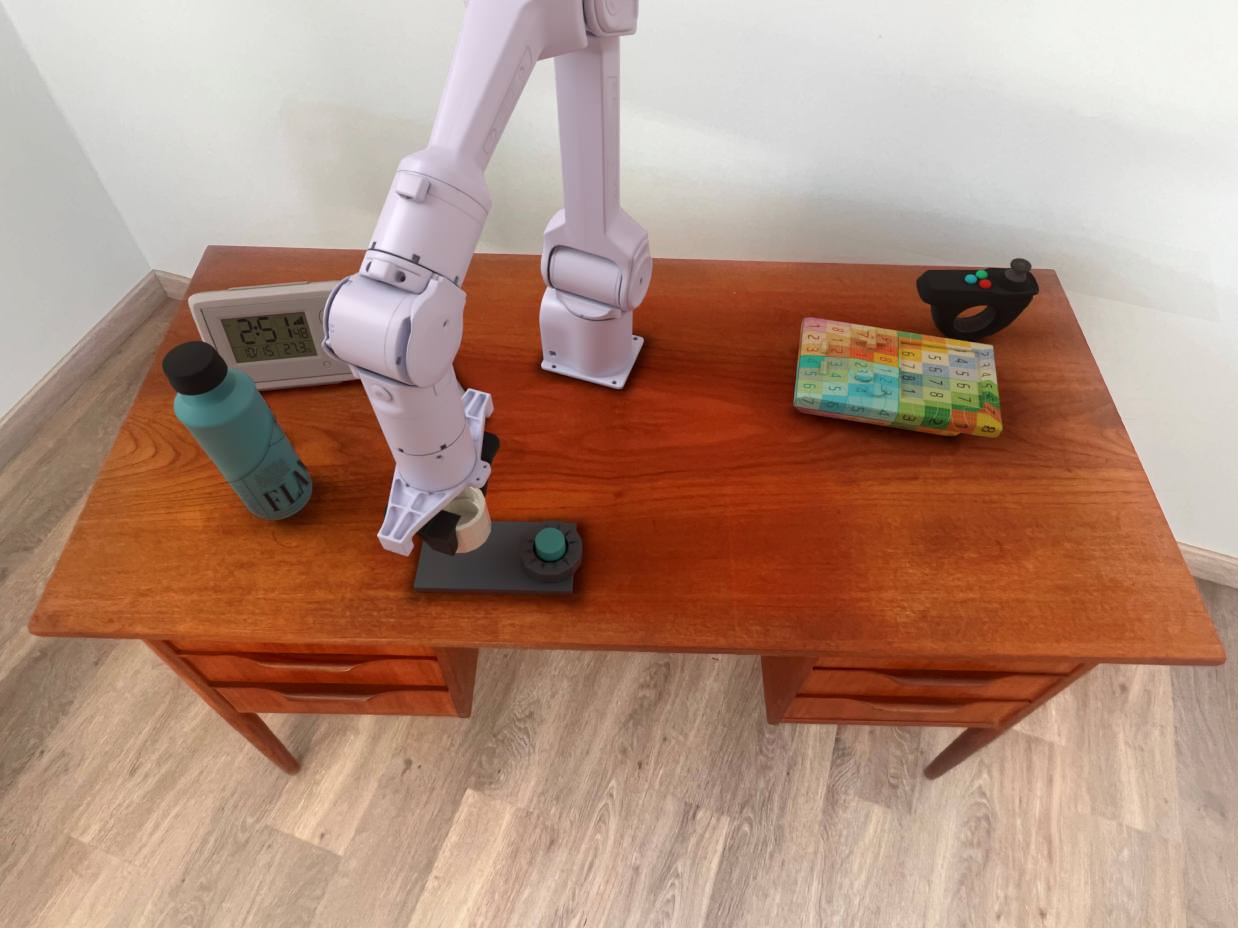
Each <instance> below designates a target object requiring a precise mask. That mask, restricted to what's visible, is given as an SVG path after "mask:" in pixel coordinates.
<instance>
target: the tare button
mask: <svg viewBox="0 0 1238 928" xmlns="http://www.w3.org/2000/svg"><path fill="white" fill-rule="evenodd" d="M535 545H536V551H537V554H538V556H539V557H540V558H541V559H543V560H545V561H556V560H558V559H560V558H561V557H562V556H563V554H564V553H565V549H566V547H565V538H564V535H563V534H562V532H561V531H559V530H558V529H555V528H546V529H543V530H541V531H540V532H539V533H538V534H537V536H536V538H535Z"/></svg>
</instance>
